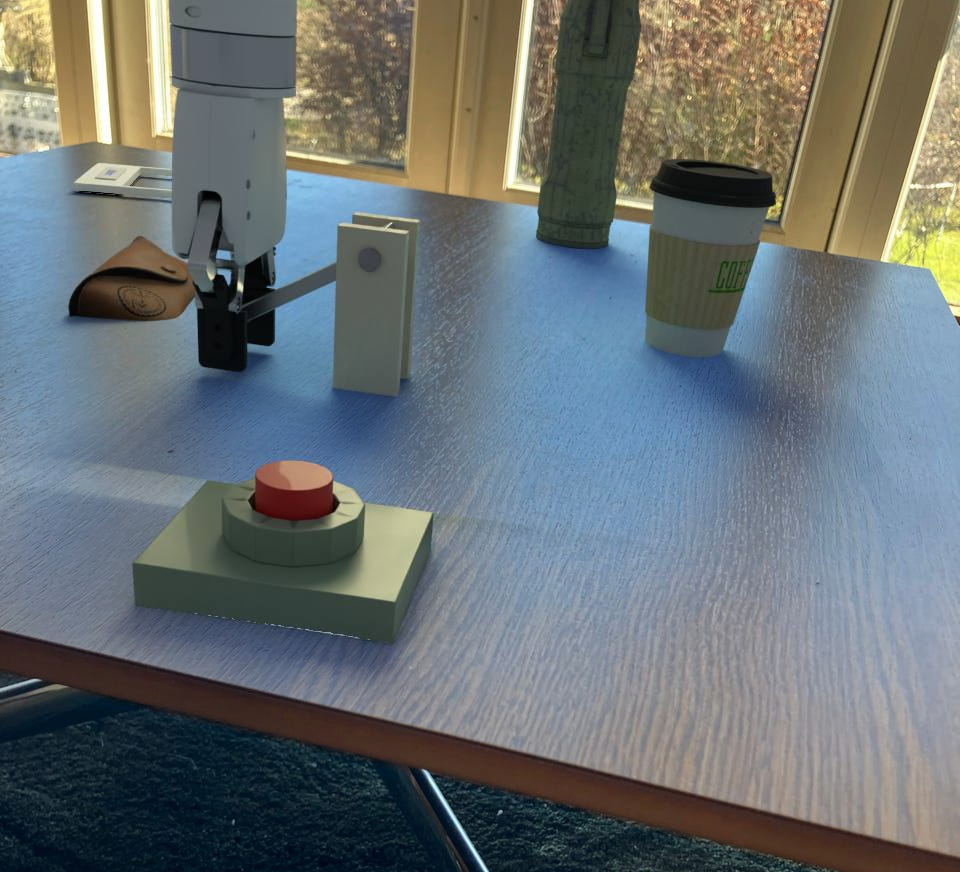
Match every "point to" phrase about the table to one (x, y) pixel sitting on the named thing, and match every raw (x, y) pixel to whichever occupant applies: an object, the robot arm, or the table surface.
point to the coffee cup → (701, 251)
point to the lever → (292, 290)
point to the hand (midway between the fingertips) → (238, 352)
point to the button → (293, 490)
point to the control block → (287, 563)
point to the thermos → (588, 121)
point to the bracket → (374, 303)
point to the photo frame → (120, 180)
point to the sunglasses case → (135, 286)
